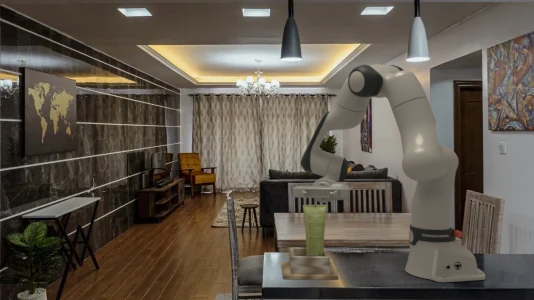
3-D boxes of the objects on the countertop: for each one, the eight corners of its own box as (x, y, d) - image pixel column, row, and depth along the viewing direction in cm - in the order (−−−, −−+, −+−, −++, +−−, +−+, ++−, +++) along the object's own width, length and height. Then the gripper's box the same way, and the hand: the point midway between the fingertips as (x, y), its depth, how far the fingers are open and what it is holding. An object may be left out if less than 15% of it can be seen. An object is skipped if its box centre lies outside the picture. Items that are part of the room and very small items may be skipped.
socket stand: (331, 265, 138) (331, 246, 138) (338, 279, 124) (338, 258, 124) (281, 264, 138) (281, 246, 138) (283, 279, 124) (283, 258, 124)
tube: (314, 265, 135) (313, 203, 134) (327, 268, 131) (327, 204, 131) (303, 269, 130) (302, 204, 130) (317, 272, 127) (316, 206, 127)
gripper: (296, 181, 162) (288, 185, 149) (351, 182, 157) (348, 185, 144) (296, 198, 162) (288, 203, 149) (351, 199, 157) (348, 204, 144)
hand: (318, 194), depth 146 cm, fingers open, 8 cm apart
